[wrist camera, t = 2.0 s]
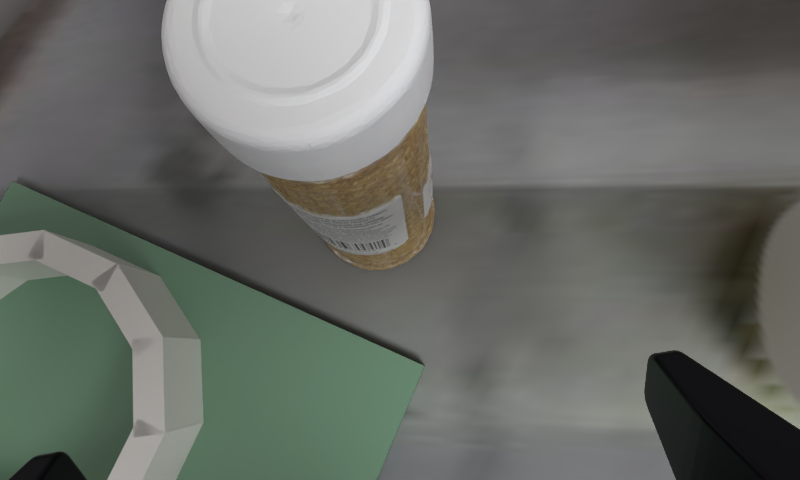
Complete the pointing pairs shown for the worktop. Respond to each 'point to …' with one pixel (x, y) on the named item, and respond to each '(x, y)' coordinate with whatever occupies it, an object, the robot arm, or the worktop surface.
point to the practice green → (175, 364)
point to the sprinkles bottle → (319, 109)
